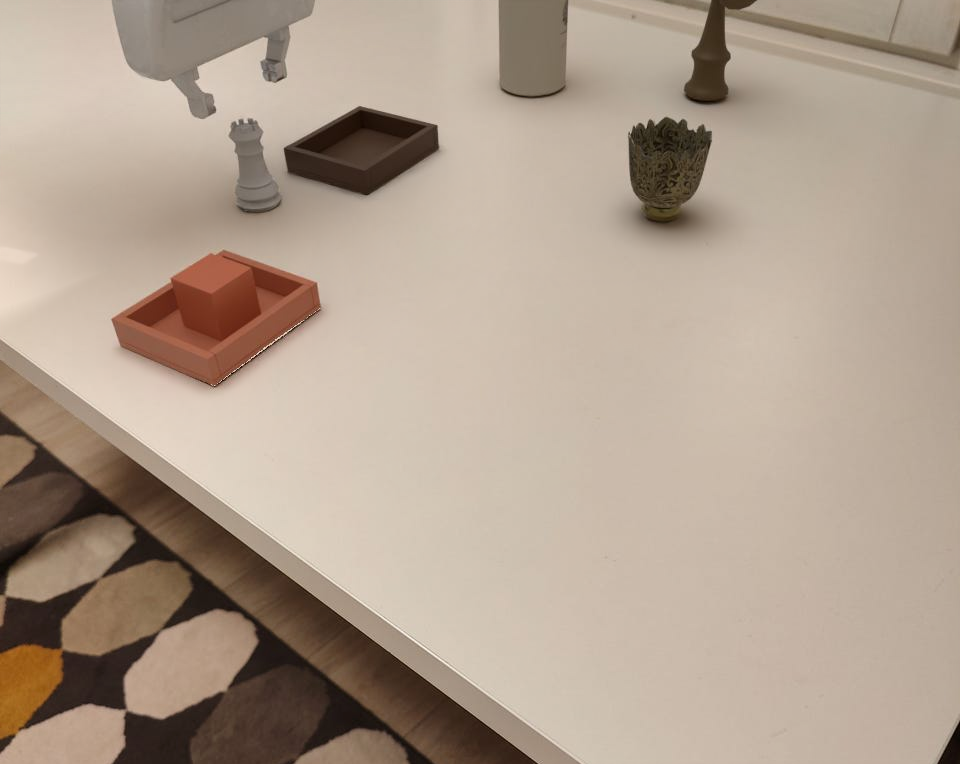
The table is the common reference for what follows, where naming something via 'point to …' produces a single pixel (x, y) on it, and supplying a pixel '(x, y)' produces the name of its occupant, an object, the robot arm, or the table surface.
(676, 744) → the table surface
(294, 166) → the walnut tray
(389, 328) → the table surface
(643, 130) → the cup
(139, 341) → the terracotta tray
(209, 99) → the robot arm
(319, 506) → the table surface
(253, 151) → the rook chess piece
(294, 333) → the table surface
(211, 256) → the terracotta block
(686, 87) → the kendama
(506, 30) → the travel mug
